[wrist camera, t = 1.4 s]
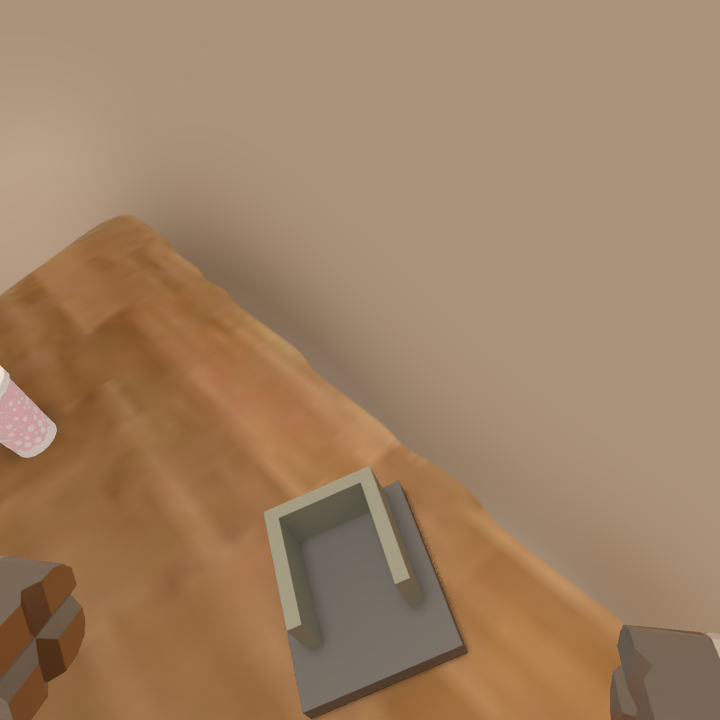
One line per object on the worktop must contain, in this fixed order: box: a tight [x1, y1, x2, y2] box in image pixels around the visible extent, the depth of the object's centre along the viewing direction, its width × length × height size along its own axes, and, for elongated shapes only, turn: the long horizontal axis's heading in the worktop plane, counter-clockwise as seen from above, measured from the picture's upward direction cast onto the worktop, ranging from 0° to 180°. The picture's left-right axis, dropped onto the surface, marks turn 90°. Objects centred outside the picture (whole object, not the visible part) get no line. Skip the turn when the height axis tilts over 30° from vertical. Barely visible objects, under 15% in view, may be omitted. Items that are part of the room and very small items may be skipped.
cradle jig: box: [264, 466, 467, 719], centre depth 44 cm, size 11×13×6 cm
